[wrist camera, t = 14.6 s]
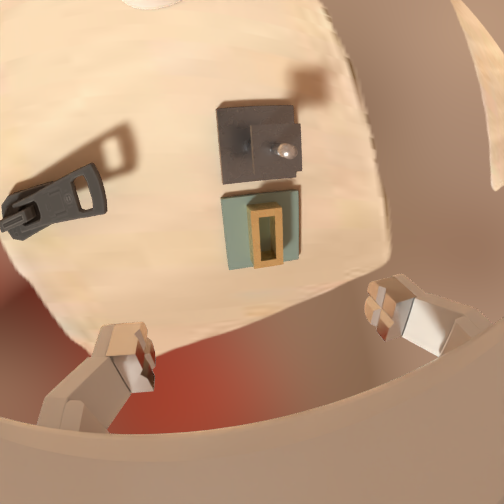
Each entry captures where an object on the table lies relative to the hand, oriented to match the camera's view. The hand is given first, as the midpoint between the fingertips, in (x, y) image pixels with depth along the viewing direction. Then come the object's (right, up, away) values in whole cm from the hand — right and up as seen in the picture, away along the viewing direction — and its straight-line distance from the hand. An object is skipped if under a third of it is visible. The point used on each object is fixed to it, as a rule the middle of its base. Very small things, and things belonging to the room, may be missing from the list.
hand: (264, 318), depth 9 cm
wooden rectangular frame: (+1, +6, +38) cm, 39 cm away
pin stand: (0, +20, +33) cm, 38 cm away
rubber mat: (+1, +6, +39) cm, 40 cm away
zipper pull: (-35, +11, +29) cm, 47 cm away
